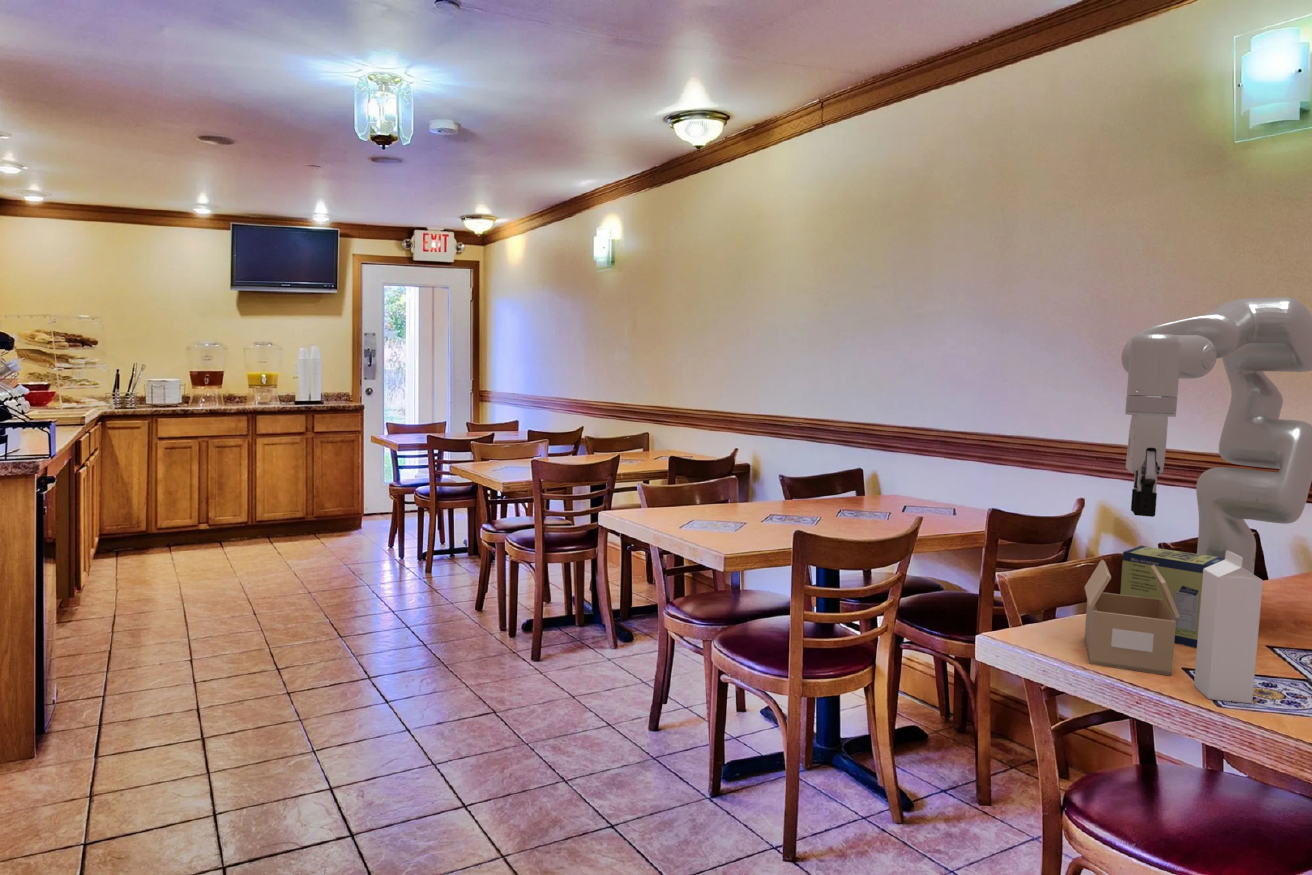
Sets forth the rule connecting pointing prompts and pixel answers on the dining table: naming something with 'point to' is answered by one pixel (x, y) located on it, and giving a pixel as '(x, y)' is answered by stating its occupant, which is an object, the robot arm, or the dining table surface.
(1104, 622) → the carton
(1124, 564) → the protein box
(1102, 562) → the flap
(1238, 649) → the milk
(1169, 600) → the flap
